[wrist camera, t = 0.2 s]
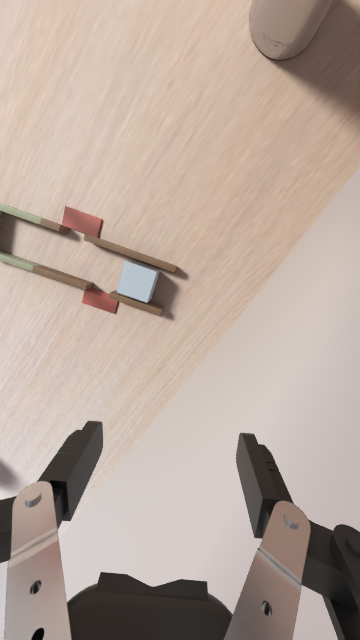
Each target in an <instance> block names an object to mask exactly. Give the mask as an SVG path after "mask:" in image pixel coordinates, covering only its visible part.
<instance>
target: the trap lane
mask: <svg viewBox="0 0 360 640" xmlns="http://www.w3.org/2000/svg"><path fill="white" fill-rule="evenodd" d="M2 211H3V212H6V213H9V214H11V215H14V216H17V217H20V218H23V219H26V220H28V221H31V222H34V223H37V224H40V225H42V226H45V227H48V228H51V229H54V230H56V231H59V232H63V233H67V234H68V229H69V228H71V229H74V230H77V231H80V232H82V233H85V237H84V240H85V241H87V242H90V243H93V244H96V245H99V246H101V247H104V248H107V249H110V250H113V251H116V252H118V253H121V254H124V255H127V256H130V257H132V258H135V259H138V260H141V261H144V262H146V263H149V264H152V265H155V266H158V267H160V268H163V269H166V270H169V271H172V272H176V269H177V266H175V265H172V264H169V263H166V262H164V261H161V260H158V259H155V258H152V257H150V256H147V255H144V254H141V253H138V252H136V251H133V250H130V249H127V248H124V247H122V246H119V245H116V244H113V243H110V242H108V241H105V240H102V239H99V238H98V235H99V231H100V227H101V222H102V219H100V218H97V217H94V216H91V215H89V214H86V213H83V212H80V211H78V210H75V209H72V208H69V207H67V206H65V211H64V216H63V221H62V225H60V224H57V223H55V222H52V221H49V220H46V219H43V218H41V217H38V216H35V215H32V214H29V213H27V212H24V211H21V210H18V209H15V208H13V207H10V206H7V205H4V204H1V203H0V225H1V217H2ZM0 261H3V262H6V263H8V264H11V265H14V266H17V267H20V268H23V269H26V270H29V271H32V272H35V273H38V274H41V275H43V276H46V277H49V278H52V279H55V280H58V281H61V282H64V283H67V284H70V285H73V286H75V287H78V288H81V289H84V290H85V292H84V296H83V301H82V303H84V304H87V305H90V306H93V307H96V308H99V309H102V310H105V311H108V312H111V313H114V314H115V311H116V308H117V304H118V301H119V302H122V303H125V304H128V305H131V306H134V307H137V308H140V309H142V310H145V311H148V312H151V313H154V314H157V315H161V313H162V311H163V308H164V307H161V306H158V305H156V304H153V303H150V302H147V303H146V302H143V301H140V300H138V299H135V298H132V297H129V296H126V295H123V294H120V293H117V291H113V292H110V294H107V293H104V292H101V291H98V290H95V289H92V286H93V283H92V282H89V281H86V280H83V279H80V278H77V277H75V276H72V275H69V274H66V273H63V272H60V271H57V270H54V269H51V268H48V267H46V266H43V265H40V264H37V263H34V262H31V261H28V260H25V259H22V258H20V257H17V256H14V255H11V254H8V253H5V252H2V251H0Z"/></svg>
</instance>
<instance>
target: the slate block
mask: <svg viewBox="0 0 360 640" xmlns="http://www.w3.org/2000/svg"><path fill="white" fill-rule="evenodd" d="M159 274H160V271H158V270H155V269H152V268H149V267H146V266H144V265H141V264H138V263H135V262H132V261H125V263H124V267H123V271H122V274H121V278H120V282H119V285H118V289H117V293H120V294H123V295H126V296H129V297H132V298H135V299H138V300H140V301H143V302H146V303H147V302H149V301H150V300H151V299H152V296H153V293H154V289H155V286H156V283H157V280H158V277H159Z"/></svg>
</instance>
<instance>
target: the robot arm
mask: <svg viewBox="0 0 360 640" xmlns="http://www.w3.org/2000/svg"><path fill="white" fill-rule="evenodd" d="M333 1H334V0H252V4H251V10H250V30H251V35H252V38H253V40H254V43H255V44H256V46H257V47H258V49H259V50H260V51H261V52H262V53H263V54H264V55H266V56H268V57H269V58H272V59H276V60H285V59H288V58H292V57H294V56H295V55H297V54H299V53H300V52H301V51H302V50H304V49H305V48H306V47H307V45H308V44H309V43H310V42H311V40H312V38H313V37H314V35H315V33H316V31H317V29H318V28H319V26H320V24H321V22H322V20H323V19H324V17H325V15H326V13H327V11H328V10H329V8H330V6H331V4H332V3H333ZM102 448H103V428H102V422H99V421H88V422H87V423H86V424H85V426H84V427H83V429H82V430H76V431H75V432H73V433H72V434H71V435H70V436H69V437H68V438H67V439H66V441H65V442H64V444H63V446H62V447H61V448H60V449H59V451H58V453H57V454H56V455H55V457H54V458H53V459H52V461H51V462H50V464H49V465H48V467H47V468H46V470H45V471H44V472H43V474H42V475H41V477H40V478H39V480H38V481H37V482H35V483H33V484H31V485H29V486H27V487H26V488H24V489H23V490H22V491H21V492H20V493H19V494H18V495H17V496H15V497H12V498H7V499H3V500H0V563H2V562H5V561H8V568H7V587H6V607H5V629H4V640H292V637H293V633H294V627H295V622H296V616H297V611H298V605H299V600H300V594H301V587H302V586H301V585H303V586H305V587H308V588H309V589H311V590H313V591H315V592H317V593H319V594H321V595H322V596H323V599H324V602H325V605H326V607H327V610H328V613H329V615H330V618H331V621H332V624H333V626H334V629H335V632H336V635H337V637H338V640H360V532H359V531H357V530H356V529H354V528H352V527H350V526H347V525H343V524H340V525H337V526H336V527H335V528H334V531H332V530H330V529H327V528H325V527H323V526H320V525H318V524H315V523H314V522H312V521H310V520H308V519H307V517H306V515H305V514H304V513H303V511H302V510H301V509H300V508H299V507H297V506H296V505H294V503H293V501H292V499H291V496H290V494H289V492H288V490H287V487H286V485H285V483H284V481H283V478H282V476H281V474H280V472H279V469H278V467H277V465H276V464H275V460H274V458H273V456H272V454H271V452H270V451H269V450H268V449H267V448H266V446H265V445H260V444H258V442H257V440H256V437H255V435H254V434H250V433H240V435H239V441H238V447H237V453H236V463H237V468H238V472H239V477H240V481H241V485H242V489H243V493H244V496H245V501H246V505H247V509H248V513H249V518H250V522H251V526H252V530H253V534H254V537H255V538H262V542H261V544H260V547H259V548H258V549H257V551H256V554H255V556H254V559H253V562H252V565H251V567H250V570H249V573H248V575H247V578H246V581H245V584H244V587H243V589H242V592H241V595H240V597H239V600H238V603H237V605H236V608H235V611H234V614H233V615H232V613H231V612H230V611H229V610H228V609H227V607H226V606H225V605H224V604H223V603H222V602H221V601H219V600H218V599H217V598H215V597H214V596H213V595H211V594H209V593H208V590H207V582H205V581H194V580H183V579H180V580H176V581H173V582H170V583H166V584H163V585H160V586H156V587H151V586H149V585H146V584H145V583H143V582H141V581H139V580H137V579H135V578H133V577H131V576H129V575H127V574H116V573H105V572H101V573H100V577H99V580H98V583H97V584H94V585H92V586H89V587H87V588H85V589H84V590H82V591H81V592H79V593H78V594H76V595H75V596H74V597H73V598H72V599H70V600H69V601H68V602H67V601H66V593H65V585H64V577H63V570H62V561H61V553H60V546H59V538H58V531H57V530H58V528H59V526H60V524H61V522H62V520H63V521H71V519H72V517H73V514H74V512H75V510H76V508H77V506H78V503H79V501H80V499H81V497H82V495H83V492H84V490H85V488H86V486H87V484H88V481H89V479H90V477H91V475H92V473H93V471H94V468H95V466H96V464H97V462H98V460H99V457H100V455H101V452H102Z"/></svg>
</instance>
